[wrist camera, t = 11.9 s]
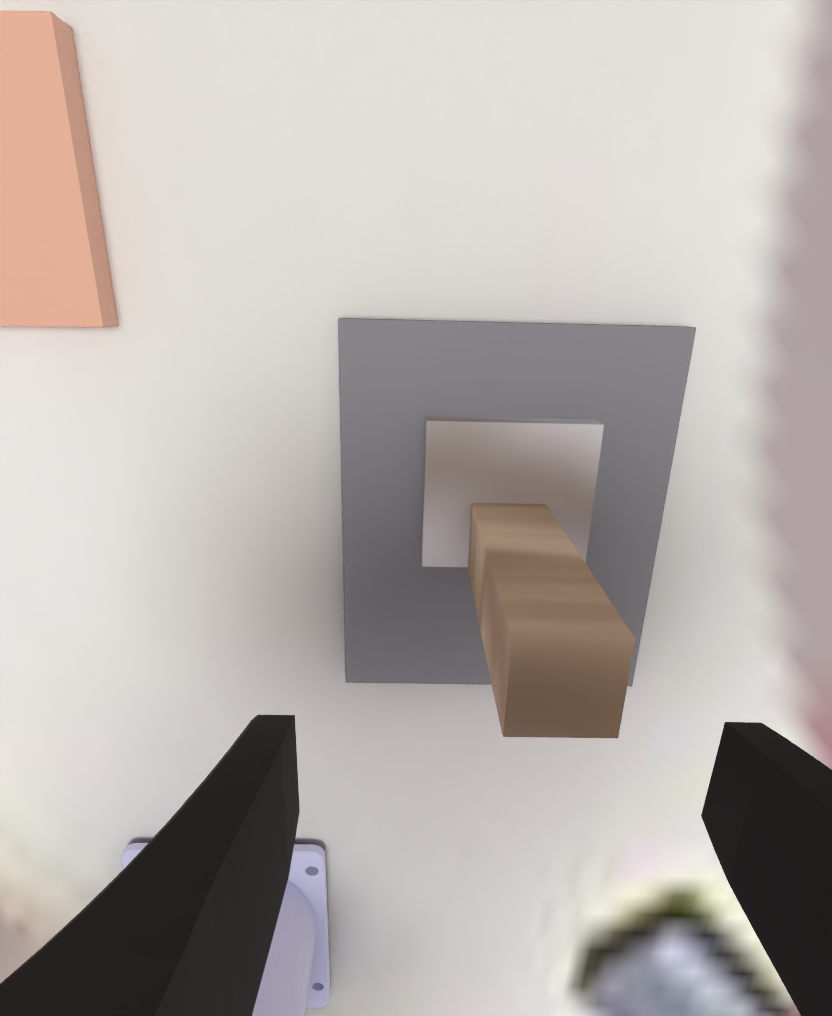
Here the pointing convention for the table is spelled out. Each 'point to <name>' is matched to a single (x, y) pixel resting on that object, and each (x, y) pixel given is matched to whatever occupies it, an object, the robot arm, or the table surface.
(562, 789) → the table surface
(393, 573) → the mat
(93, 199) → the tile
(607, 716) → the grey square paddle
